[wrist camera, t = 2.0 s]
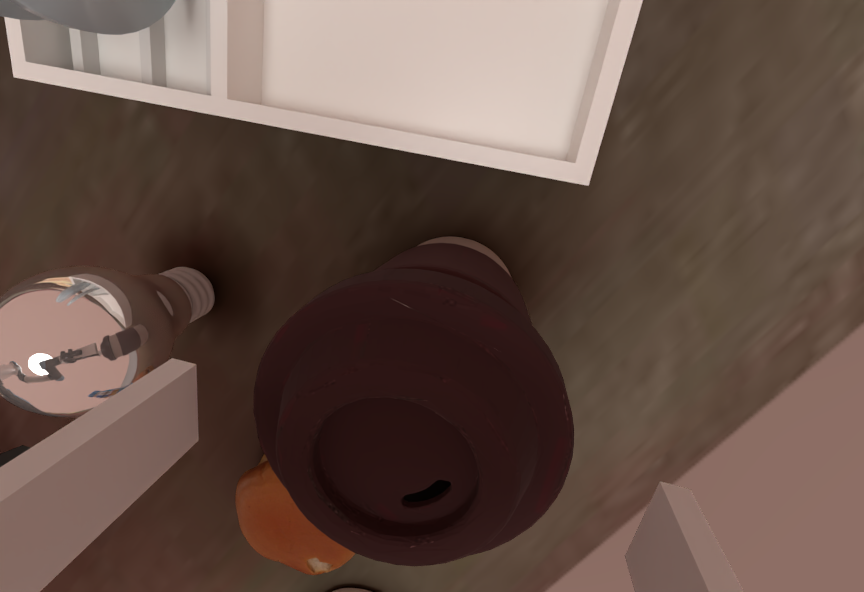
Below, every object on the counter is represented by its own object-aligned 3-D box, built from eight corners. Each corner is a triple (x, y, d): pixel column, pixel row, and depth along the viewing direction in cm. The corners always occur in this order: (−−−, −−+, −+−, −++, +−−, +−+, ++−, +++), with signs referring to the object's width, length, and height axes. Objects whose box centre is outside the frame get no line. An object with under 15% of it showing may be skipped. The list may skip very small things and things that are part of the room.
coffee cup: (365, 211, 25) (184, 298, 11) (542, 209, 23) (603, 306, 9) (378, 366, 28) (252, 587, 14) (534, 373, 26) (570, 630, 12)
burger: (311, 404, 30) (278, 448, 26) (406, 489, 31) (391, 545, 27) (235, 474, 33) (194, 524, 29) (324, 549, 34) (298, 607, 30)
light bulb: (139, 238, 28) (-110, 301, 16) (236, 226, 26) (37, 286, 15) (173, 337, 30) (-26, 453, 18) (265, 331, 28) (109, 452, 17)
